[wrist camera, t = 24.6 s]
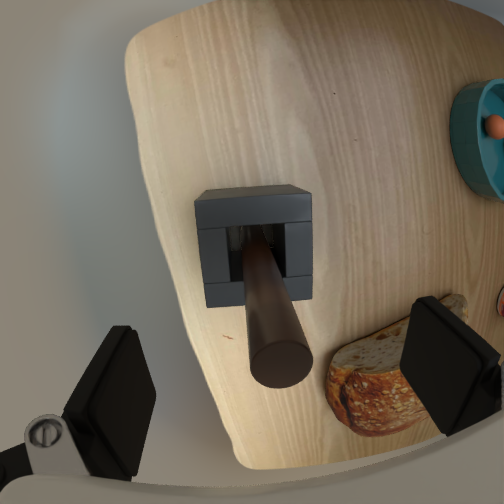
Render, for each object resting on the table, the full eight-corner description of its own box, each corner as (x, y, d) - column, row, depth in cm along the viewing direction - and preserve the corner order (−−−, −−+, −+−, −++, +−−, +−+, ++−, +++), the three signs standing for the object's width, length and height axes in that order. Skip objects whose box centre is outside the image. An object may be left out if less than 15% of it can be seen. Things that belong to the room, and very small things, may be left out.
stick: (238, 222, 29) (246, 345, 9) (261, 220, 29) (313, 335, 9) (241, 245, 29) (253, 392, 10) (263, 242, 29) (313, 384, 10)
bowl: (442, 72, 24) (468, 64, 20) (513, 97, 25) (536, 95, 20) (450, 197, 29) (478, 204, 24) (517, 199, 29) (541, 206, 25)
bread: (456, 285, 32) (504, 319, 23) (445, 382, 38) (475, 420, 28) (312, 338, 33) (337, 398, 23) (330, 429, 38) (346, 480, 29)
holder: (205, 190, 27) (193, 200, 20) (290, 184, 28) (311, 192, 20) (213, 271, 30) (206, 308, 22) (293, 264, 30) (312, 299, 22)
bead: (477, 115, 25) (493, 110, 25) (483, 139, 27) (498, 133, 26) (492, 119, 23) (508, 113, 22) (497, 145, 24) (513, 138, 23)
